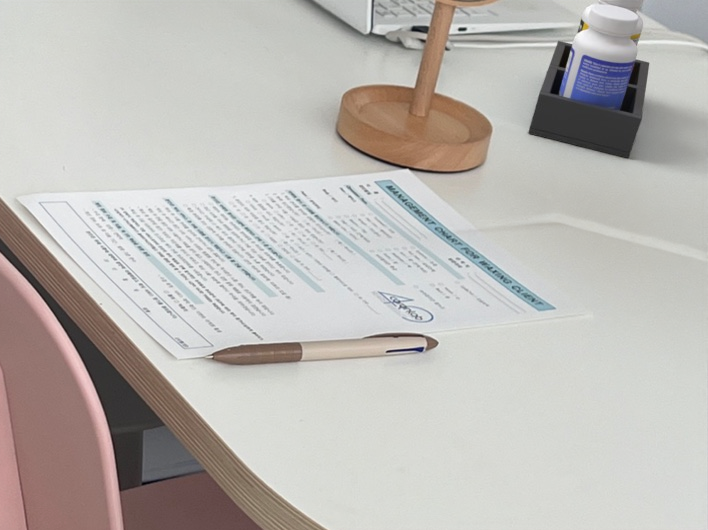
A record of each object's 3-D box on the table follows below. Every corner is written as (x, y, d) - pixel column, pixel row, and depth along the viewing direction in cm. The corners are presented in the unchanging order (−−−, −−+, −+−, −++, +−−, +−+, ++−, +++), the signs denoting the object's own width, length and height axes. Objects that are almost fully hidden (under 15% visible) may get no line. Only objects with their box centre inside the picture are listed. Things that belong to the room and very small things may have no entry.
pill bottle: (625, 135, 113) (662, 22, 107) (577, 138, 110) (612, 23, 105) (586, 110, 116) (620, 0, 111) (538, 112, 114) (570, 0, 108)
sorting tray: (547, 76, 124) (558, 40, 122) (637, 98, 123) (649, 62, 121) (528, 133, 111) (539, 93, 109) (628, 158, 109) (641, 118, 107)
